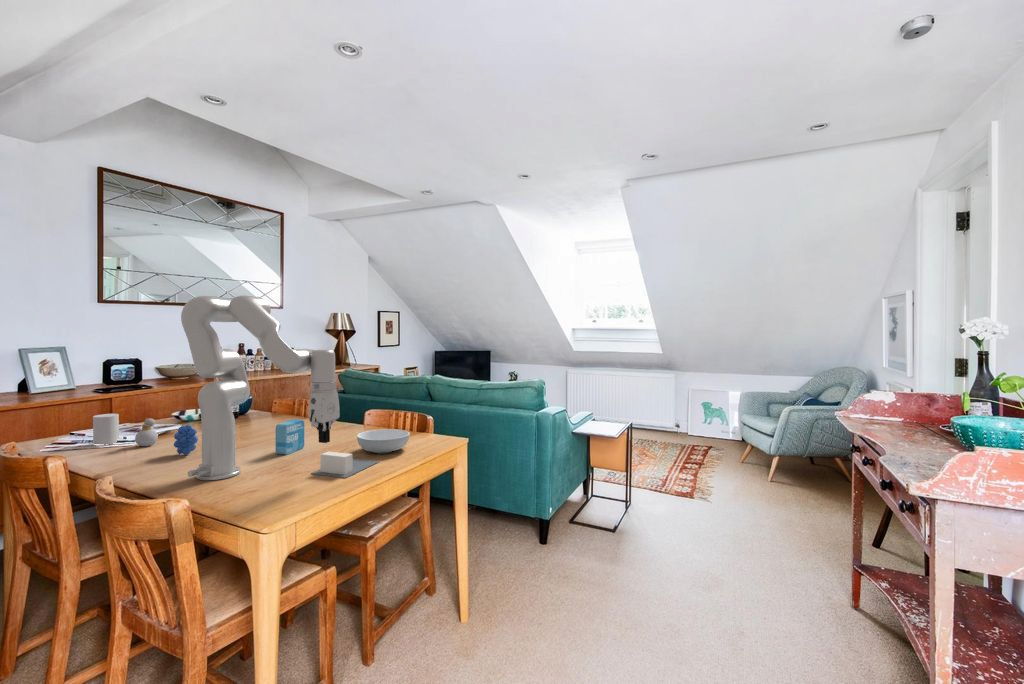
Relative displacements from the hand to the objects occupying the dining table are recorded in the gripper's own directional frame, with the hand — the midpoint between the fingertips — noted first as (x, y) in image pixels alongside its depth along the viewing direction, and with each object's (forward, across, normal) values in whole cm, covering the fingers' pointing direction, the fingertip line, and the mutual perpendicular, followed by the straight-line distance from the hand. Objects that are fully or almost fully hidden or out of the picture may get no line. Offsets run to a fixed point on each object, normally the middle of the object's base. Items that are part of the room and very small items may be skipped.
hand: (324, 442), depth 154 cm
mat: (+12, +12, +1) cm, 17 cm away
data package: (+12, +23, +36) cm, 44 cm away
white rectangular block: (+12, +7, +1) cm, 14 cm away
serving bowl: (+13, +37, +2) cm, 39 cm away
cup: (+10, +7, +116) cm, 116 cm away
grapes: (+11, +6, +69) cm, 70 cm away
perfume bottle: (+11, +10, +96) cm, 97 cm away
